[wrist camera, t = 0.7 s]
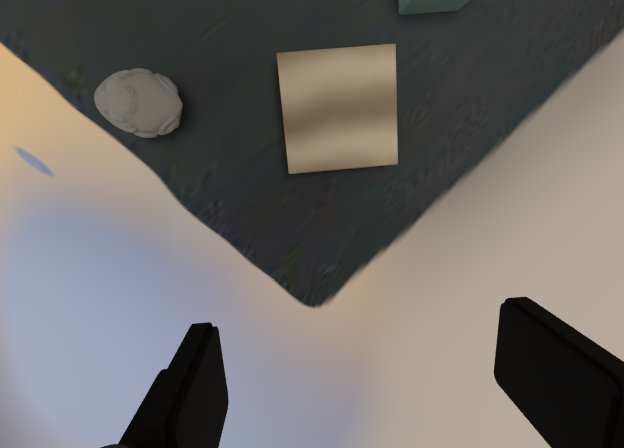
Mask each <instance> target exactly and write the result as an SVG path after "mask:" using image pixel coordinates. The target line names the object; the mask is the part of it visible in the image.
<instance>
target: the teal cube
mask: <svg viewBox="0 0 624 448" xmlns="http://www.w3.org/2000/svg"><path fill="white" fill-rule="evenodd" d="M469 1H470V0H399V15H405V14H419V13H433V12H447V11H458V10H459V9H460V8H461V7H463V6H464V5H465V4H466V3H468V2H469Z"/></svg>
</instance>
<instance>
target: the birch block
mask: <svg viewBox="0 0 624 448" xmlns="http://www.w3.org/2000/svg"><path fill="white" fill-rule="evenodd" d="M277 63H278V72H279V82H280V92H281V102H282V111H283V121H284V131H285V141H286V151H287V160H288V170H289V174H294V173H305V172H316V171H327V170H338V169H349V168H360V167H371V166H382V165H393V164H398V148H397V97H396V45H395V44H385V45H372V46H359V47H347V48H334V49H321V50H309V51H296V52H284V53H277Z"/></svg>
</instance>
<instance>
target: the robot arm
mask: <svg viewBox="0 0 624 448" xmlns="http://www.w3.org/2000/svg"><path fill="white" fill-rule="evenodd" d="M494 376H495V379H496V381H497V383H498V385H499V386H500V387H501V388H502V389H503V391H504V392H505V393H506V394H507V395H508V396H509V398H510V399H511V400H512V401H513V402H514V404H515V405H516V406H517V407H518V408H519V410H520V411H521V412H522V413H523V414H524V416H525V417H526V418H527V419H528V420H529V421H530V423H531V424H532V425H533V426H534V428H535V429H536V430H537V431H538V432H539V434H540V435H541V436H542V437H543V438H544V440H545V441H546V442H547V443H548V444H549V445H550V447H551V448H624V362H623V361H622V360H620V359H619V358H617V357H616V356H614V355H612V354H611V353H610V352H608V351H607V350H605V349H604V348H602V347H601V346H599V345H598V344H596V343H595V342H593V341H592V340H590V339H589V338H587V337H586V336H584V335H583V334H581V333H580V332H578V331H577V330H575V329H574V328H573V327H571V326H570V325H568V324H567V323H565V322H563V321H562V320H561V319H559V318H557V317H556V316H555V315H553V314H552V313H550V312H549V311H547V310H546V309H544V308H543V307H541V306H540V305H538V304H537V303H535V302H534V301H532V300H531V299H529V298H527V297H516V298H508V299H506V300H505V302H504V303H503V304H501V308H500V315H499V326H498V335H497V345H496V357H495V365H494ZM227 409H228V391H227V385H226V378H225V371H224V364H223V358H222V351H221V344H220V337H219V330H218V328H217V327H212V324H211V323H197V324H192V325H191V326H190V328H189V330H188V332H187V334H186V336H185V337H184V339H183V341H182V343H181V345H180V347H179V349H178V350H177V352H176V354H175V356H174V358H173V359H172V361H171V363H170V365H169V367H168V368H167V369H164V370H161V371H160V373H159V374H158V375H157V377H156V379H155V381H154V382H153V384H152V386H151V388H150V389H149V391H148V393H147V395H146V396H145V398H144V400H143V402H142V403H141V405H140V407H139V408H138V410H137V412H136V414H135V416H134V417H133V419H132V421H131V422H130V424H129V426H128V428H127V429H126V431H125V433H124V435H123V436H122V438H121V440H120V442H119V443H118V444H114V445H108V446H104V447H101V448H218V447H219V442H220V438H221V434H222V430H223V426H224V422H225V418H226V413H227Z"/></svg>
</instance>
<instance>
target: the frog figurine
mask: <svg viewBox="0 0 624 448" xmlns="http://www.w3.org/2000/svg"><path fill="white" fill-rule="evenodd" d="M94 100H95V104H96V107H97V108H98V110H99V111H100V113H101V114H102V115H103V116H104V117H105V118H106V119H107V120H108V121H109V122H110V123H112V124H113V125H115V126H116V127H118V128H120V129H122V130H124V131H127V132H130V133H134V134H135V135H137V136H139V137H143V138H154V137H157V135H158V134H159V135H165V134H168V133H170V132H172V131H173V130H174V129H175V128H177V127H179V124H180V118H181V114H182V106H183V105H182V102H181V100H180V98H179V95H178V88H177V86H176V85H174V84H173V83H172V82H171V80H170V79H168V78H167V77H165V76H163V75H161V74H158V73H155V74H153V73H152V72H151V71H150V70H147V69H142V68H137V69H132V70H130V71H128V70H123V71H119V72H116V73H114V74H113V75H111V76H110V77H108V78H107V79H106V80H104V81H103V82H102V83H101V84H100V85H99V87H98V88H97V89H96V91H95V95H94Z"/></svg>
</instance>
